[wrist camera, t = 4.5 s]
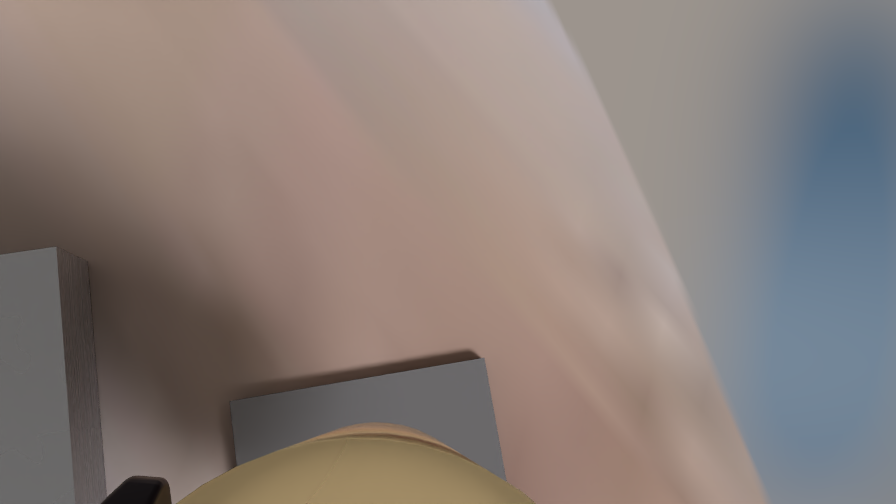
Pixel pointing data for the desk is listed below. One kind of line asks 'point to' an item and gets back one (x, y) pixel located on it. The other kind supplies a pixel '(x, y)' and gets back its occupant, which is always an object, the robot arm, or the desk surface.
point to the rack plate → (48, 382)
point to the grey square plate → (378, 412)
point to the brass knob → (360, 473)
